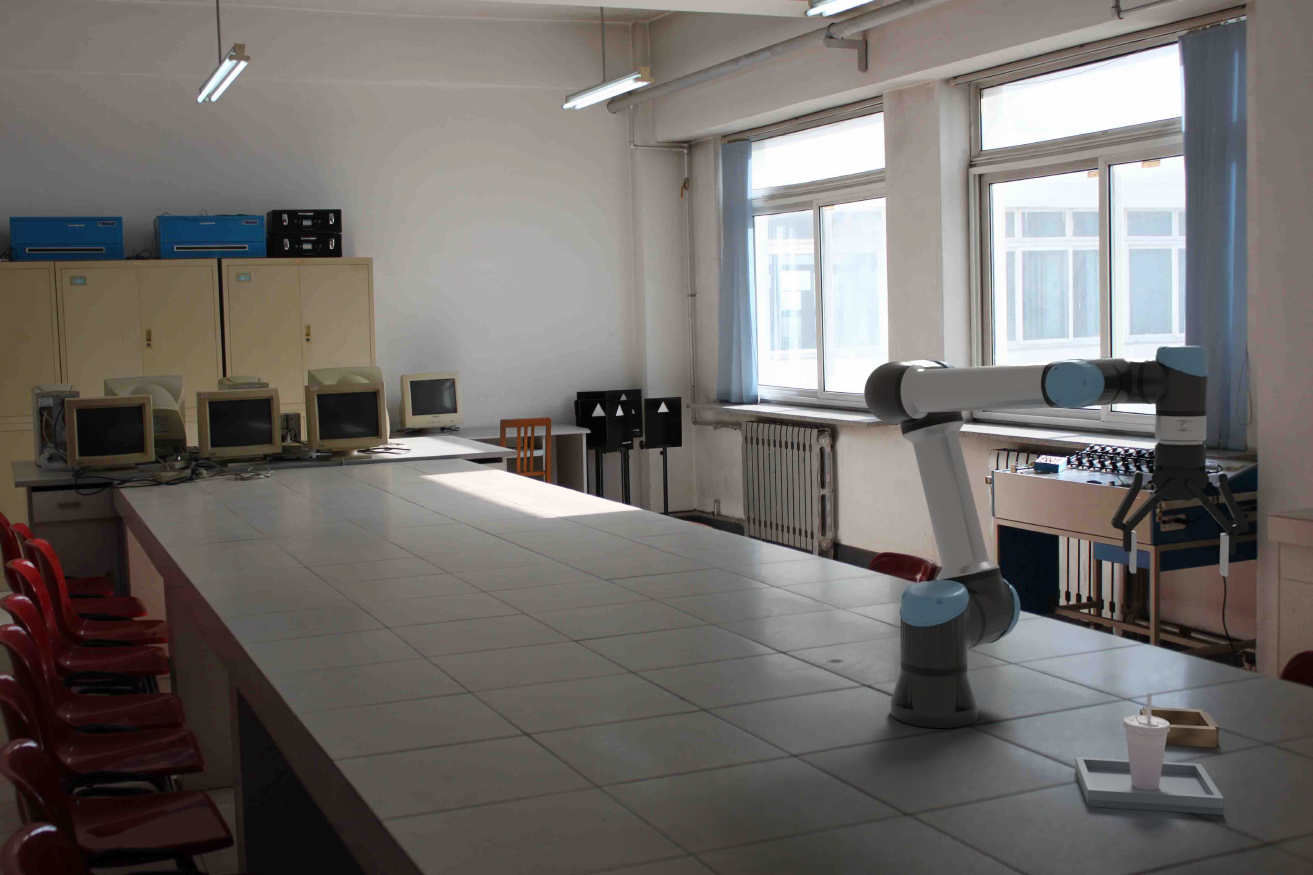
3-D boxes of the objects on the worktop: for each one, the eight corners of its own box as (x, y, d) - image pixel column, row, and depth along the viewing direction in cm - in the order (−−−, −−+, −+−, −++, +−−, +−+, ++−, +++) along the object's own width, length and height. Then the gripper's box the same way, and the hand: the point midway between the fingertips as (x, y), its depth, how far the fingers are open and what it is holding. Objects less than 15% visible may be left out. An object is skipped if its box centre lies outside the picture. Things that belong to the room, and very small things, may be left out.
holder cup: (1149, 743, 197) (1150, 725, 196) (1138, 723, 207) (1138, 706, 207) (1220, 747, 194) (1221, 729, 194) (1205, 726, 205) (1205, 709, 205)
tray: (1087, 805, 171) (1087, 789, 170) (1075, 771, 184) (1075, 756, 184) (1223, 814, 167) (1223, 798, 167) (1200, 779, 180) (1200, 763, 180)
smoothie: (1140, 795, 172) (1142, 700, 170) (1112, 780, 178) (1114, 688, 177) (1178, 790, 173) (1180, 696, 172) (1149, 775, 179) (1150, 684, 178)
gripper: (1099, 443, 191) (1097, 574, 192) (1271, 444, 184) (1268, 580, 186) (1095, 439, 198) (1093, 566, 199) (1260, 440, 191) (1257, 571, 193)
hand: (1177, 573), depth 193 cm, fingers open, 13 cm apart
